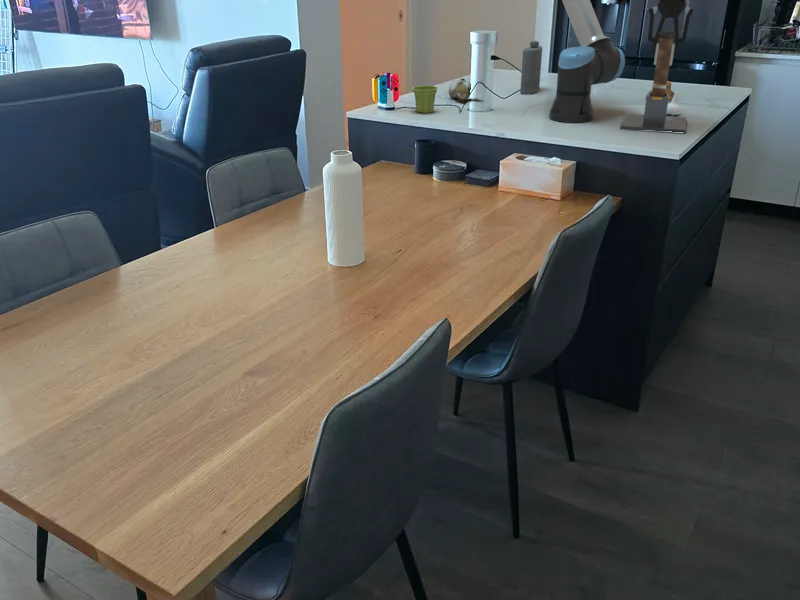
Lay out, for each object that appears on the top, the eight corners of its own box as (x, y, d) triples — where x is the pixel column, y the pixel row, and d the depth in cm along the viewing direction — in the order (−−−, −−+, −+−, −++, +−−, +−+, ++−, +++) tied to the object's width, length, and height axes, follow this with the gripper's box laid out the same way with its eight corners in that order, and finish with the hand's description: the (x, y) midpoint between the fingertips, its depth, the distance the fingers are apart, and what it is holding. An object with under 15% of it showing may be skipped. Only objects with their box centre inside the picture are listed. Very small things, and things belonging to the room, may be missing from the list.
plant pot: (416, 115, 254) (416, 90, 250) (409, 110, 263) (409, 86, 259) (440, 113, 257) (441, 89, 253) (433, 108, 265) (433, 84, 261)
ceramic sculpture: (462, 73, 282) (486, 80, 271) (461, 95, 287) (484, 103, 276) (441, 76, 277) (464, 84, 266) (440, 98, 282) (463, 106, 271)
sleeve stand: (620, 129, 230) (624, 98, 226) (625, 116, 247) (629, 87, 242) (684, 133, 224) (689, 102, 219) (685, 120, 240) (691, 91, 236)
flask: (532, 95, 285) (536, 43, 276) (518, 94, 287) (522, 43, 278) (542, 89, 297) (545, 39, 288) (528, 88, 299) (532, 39, 290)
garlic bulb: (658, 114, 251) (662, 91, 247) (672, 112, 253) (676, 90, 249) (670, 117, 246) (673, 94, 242) (684, 115, 248) (688, 93, 244)
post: (647, 101, 230) (658, 32, 220) (649, 98, 235) (659, 30, 225) (665, 103, 228) (676, 32, 219) (666, 99, 233) (677, 31, 223)
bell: (677, 98, 276) (681, 79, 273) (674, 104, 266) (678, 84, 263) (647, 96, 281) (649, 78, 277) (643, 102, 271) (645, 82, 268)
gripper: (644, -14, 216) (634, 65, 226) (704, -14, 210) (690, 67, 220) (646, -15, 222) (636, 61, 232) (704, -15, 216) (691, 63, 227)
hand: (662, 64), depth 226 cm, fingers closed on post, 4 cm apart
